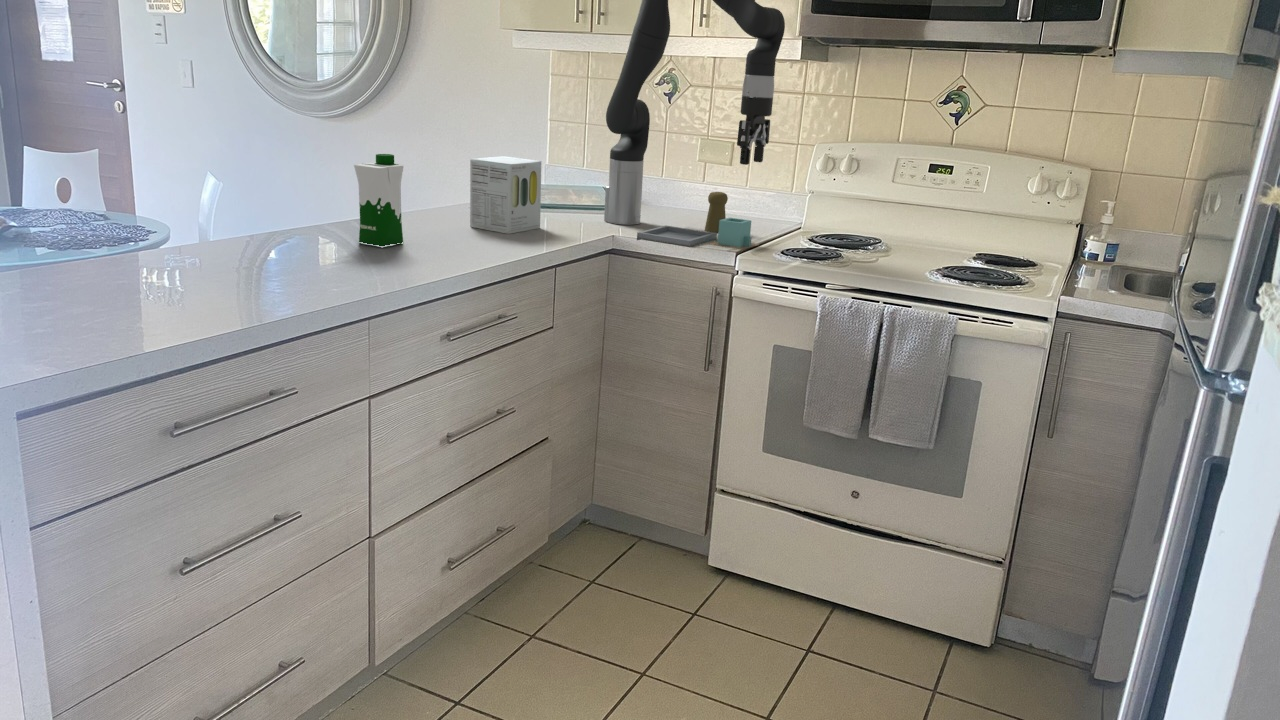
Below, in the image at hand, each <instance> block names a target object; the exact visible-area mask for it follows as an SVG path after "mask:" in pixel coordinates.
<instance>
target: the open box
mask: <svg viewBox="0 0 1280 720" xmlns="http://www.w3.org/2000/svg"><path fill="white" fill-rule="evenodd" d="M751 231H752V220H749V219H745V218H744V219H743V218H736V217H727V218H726V219H722V220H719V232H718V233H717V241H718V244H721V245H727V246H733V247H742V246H746V247H750V246H751V243H752V239H753V236H751Z"/></svg>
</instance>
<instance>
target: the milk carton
mask: <svg viewBox="0 0 1280 720" xmlns="http://www.w3.org/2000/svg"><path fill="white" fill-rule="evenodd" d="M353 167H354V170H355V171H354V172H355V175H356V178H357V183H358V202H359V203H358V204H359V233H358V234H359V237H358V243H359V242H363V243H367V244H373V245H379V246H385V245H390V244H397V243H402V242H403V243H404V236H403V235H404V234H403V233H404V232H403V224H402V192H401V191H402V188H401V185H402V178H403V172H404V165H402V164H400V163H399V164H398V163H395V154H391V153H390V154H389V153H377V154H375V162H363V163H361V164H358V163H357V164H353Z"/></svg>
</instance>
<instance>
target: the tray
mask: <svg viewBox="0 0 1280 720" xmlns="http://www.w3.org/2000/svg"><path fill="white" fill-rule="evenodd" d="M717 239H718V233H712V232H707V231H705V230H698V229H690V228H684V227H677V226H671V225H663V226H658V227H655V228H650V229H646V230H643V231H642V230H641V231H639V232H637V233H636V241H640V240H645V241H652V242H658V243H664V244H670V245H676V246H682V247H689V248H690V247H694V246H696V245H700V244H703V243H707V242H710V241H711V242H712V241H713V240H714V241H715V240H717Z"/></svg>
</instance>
